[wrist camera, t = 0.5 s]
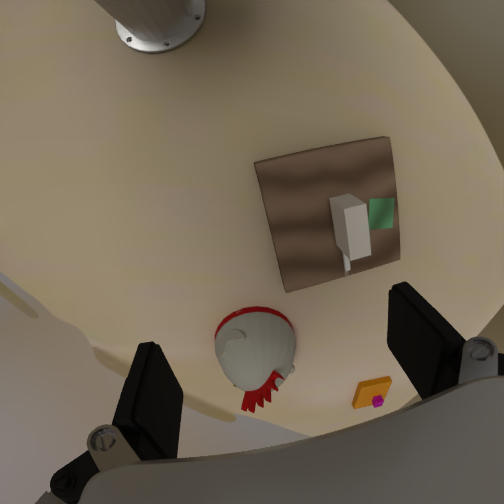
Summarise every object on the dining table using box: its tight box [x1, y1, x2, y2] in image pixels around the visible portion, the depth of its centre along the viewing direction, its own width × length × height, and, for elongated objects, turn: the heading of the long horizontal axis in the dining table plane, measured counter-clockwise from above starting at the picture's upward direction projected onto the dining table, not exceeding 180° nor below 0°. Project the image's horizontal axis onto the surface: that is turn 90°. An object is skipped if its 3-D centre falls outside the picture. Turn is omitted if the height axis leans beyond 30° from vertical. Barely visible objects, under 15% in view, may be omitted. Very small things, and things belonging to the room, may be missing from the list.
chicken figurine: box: [215, 306, 296, 413], centre depth 46 cm, size 14×14×15 cm
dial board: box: [254, 136, 400, 293], centre depth 43 cm, size 20×20×2 cm
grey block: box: [329, 194, 371, 271], centre depth 40 cm, size 12×3×7 cm, turn 14°
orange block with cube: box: [352, 376, 392, 409], centre depth 61 cm, size 8×8×4 cm
